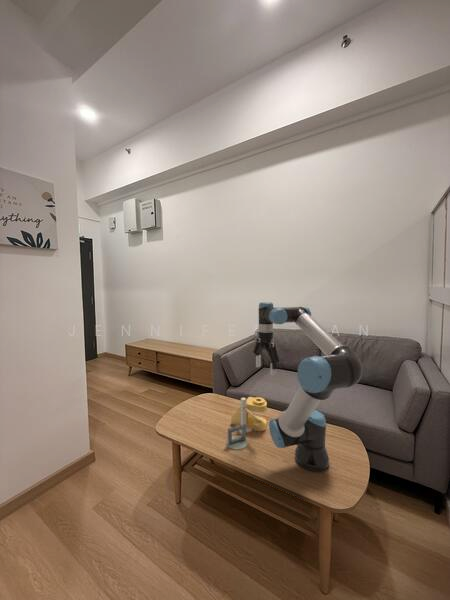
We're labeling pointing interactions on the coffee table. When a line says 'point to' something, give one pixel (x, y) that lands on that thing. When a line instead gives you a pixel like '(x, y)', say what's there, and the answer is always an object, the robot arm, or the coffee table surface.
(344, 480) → the coffee table surface
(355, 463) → the coffee table surface
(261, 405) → the clamp
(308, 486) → the coffee table surface
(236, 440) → the link
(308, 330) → the robot arm
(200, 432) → the coffee table surface
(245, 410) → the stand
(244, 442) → the coaster
